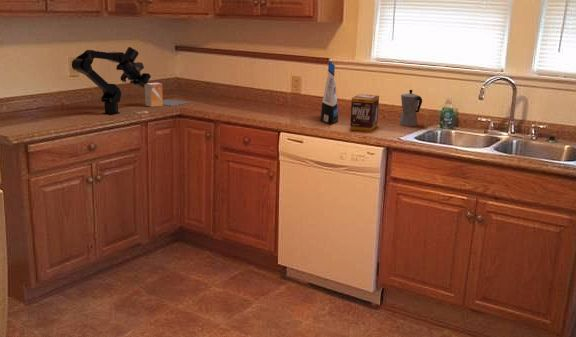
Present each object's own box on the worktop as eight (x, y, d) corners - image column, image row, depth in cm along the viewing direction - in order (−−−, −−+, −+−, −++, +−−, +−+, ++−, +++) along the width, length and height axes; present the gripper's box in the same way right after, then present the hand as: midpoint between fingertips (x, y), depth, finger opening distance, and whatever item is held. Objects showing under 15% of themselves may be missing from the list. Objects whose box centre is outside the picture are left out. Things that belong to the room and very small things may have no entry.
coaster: (141, 114, 321) (141, 113, 321) (131, 113, 325) (131, 112, 324) (150, 112, 327) (150, 111, 327) (141, 111, 330) (141, 110, 330)
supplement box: (349, 129, 293) (351, 97, 289) (357, 124, 307) (359, 93, 303) (370, 131, 289) (372, 99, 285) (377, 125, 303) (379, 95, 299)
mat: (171, 106, 349) (171, 105, 349) (148, 103, 358) (148, 102, 357) (189, 102, 362) (189, 102, 362) (166, 99, 371) (166, 99, 371)
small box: (151, 107, 344) (150, 84, 341) (145, 105, 349) (144, 83, 345) (163, 105, 350) (162, 83, 346) (157, 104, 354) (156, 82, 351)
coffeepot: (393, 123, 311) (395, 88, 306) (407, 121, 315) (409, 87, 310) (412, 128, 298) (415, 92, 293) (427, 127, 302) (429, 91, 297)
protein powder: (323, 124, 303) (325, 65, 295) (317, 116, 327) (319, 60, 319) (341, 124, 304) (344, 65, 296) (335, 116, 327) (337, 60, 319)
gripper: (147, 58, 326) (162, 77, 338) (122, 56, 335) (138, 74, 347) (137, 74, 322) (153, 92, 334) (113, 72, 331) (129, 89, 343)
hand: (143, 86), depth 340 cm, fingers closed
